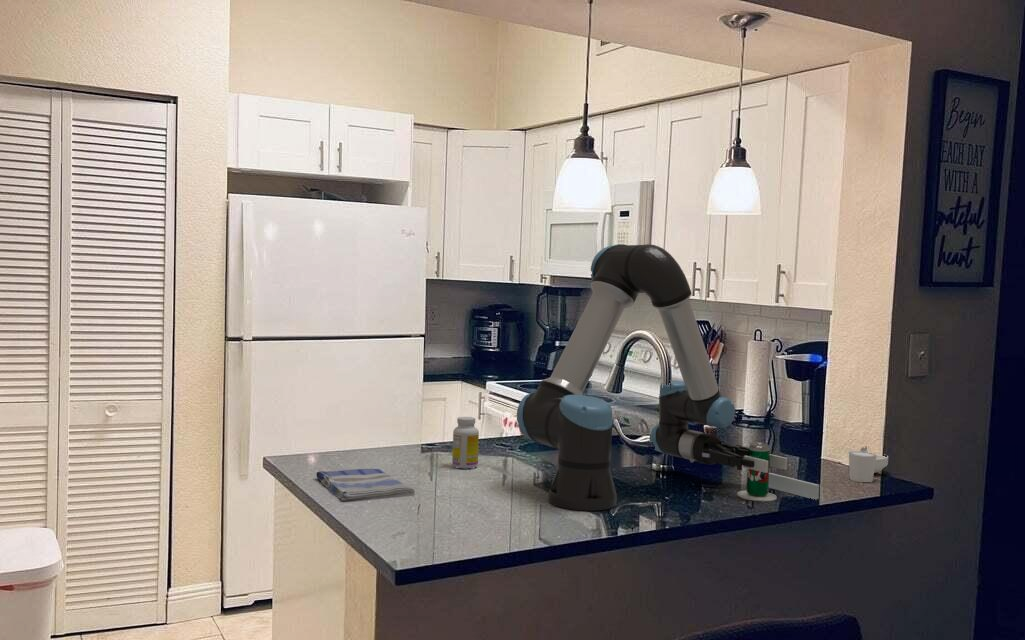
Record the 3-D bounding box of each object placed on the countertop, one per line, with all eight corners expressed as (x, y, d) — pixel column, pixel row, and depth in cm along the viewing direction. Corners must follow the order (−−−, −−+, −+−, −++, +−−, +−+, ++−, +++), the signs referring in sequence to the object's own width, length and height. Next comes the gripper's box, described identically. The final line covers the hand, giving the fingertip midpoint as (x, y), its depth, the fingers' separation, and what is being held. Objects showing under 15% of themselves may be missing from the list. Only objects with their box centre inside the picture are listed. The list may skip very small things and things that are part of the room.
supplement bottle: (480, 465, 231) (481, 416, 230) (474, 470, 225) (476, 420, 224) (455, 463, 232) (457, 415, 232) (449, 468, 226) (451, 419, 225)
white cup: (877, 484, 226) (879, 457, 226) (849, 482, 227) (851, 455, 227) (872, 478, 233) (873, 452, 232) (845, 476, 234) (846, 450, 234)
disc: (733, 497, 206) (733, 495, 206) (743, 489, 214) (743, 488, 214) (772, 503, 202) (772, 501, 202) (780, 495, 210) (780, 494, 210)
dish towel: (341, 505, 189) (342, 492, 189) (313, 480, 210) (313, 469, 210) (417, 498, 197) (417, 485, 197) (382, 475, 218) (382, 464, 218)
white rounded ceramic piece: (849, 474, 236) (850, 449, 236) (845, 466, 248) (847, 442, 247) (889, 478, 233) (891, 453, 233) (884, 469, 245) (886, 445, 244)
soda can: (771, 493, 208) (774, 444, 207) (762, 498, 204) (764, 448, 203) (751, 489, 212) (753, 440, 210) (742, 494, 208) (744, 444, 206)
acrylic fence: (754, 483, 221) (754, 470, 221) (756, 483, 222) (757, 469, 222) (815, 500, 207) (816, 485, 207) (818, 499, 207) (819, 484, 207)
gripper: (725, 458, 228) (801, 477, 209) (673, 465, 217) (748, 485, 198) (727, 430, 228) (803, 445, 209) (675, 435, 216) (750, 453, 198)
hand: (776, 465), depth 204 cm, fingers open, 6 cm apart
